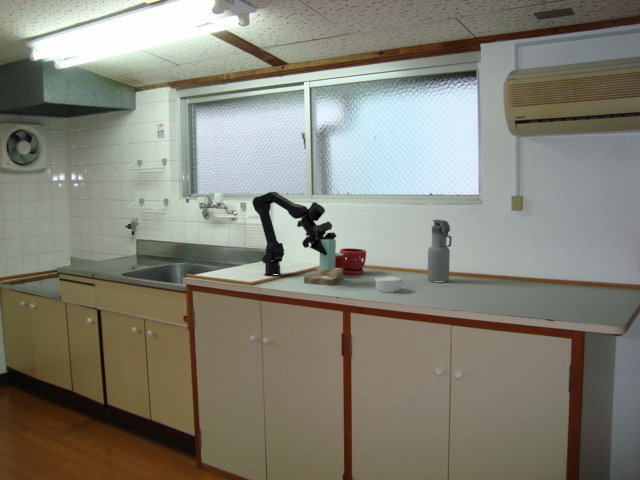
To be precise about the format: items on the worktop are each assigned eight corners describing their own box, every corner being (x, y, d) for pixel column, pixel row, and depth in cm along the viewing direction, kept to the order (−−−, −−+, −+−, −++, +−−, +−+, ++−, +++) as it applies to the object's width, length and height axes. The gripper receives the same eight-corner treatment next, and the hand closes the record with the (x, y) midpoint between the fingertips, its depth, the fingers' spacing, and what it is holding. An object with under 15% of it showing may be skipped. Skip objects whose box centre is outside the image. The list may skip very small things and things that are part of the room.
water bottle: (454, 281, 244) (455, 220, 241) (436, 283, 240) (438, 221, 236) (439, 278, 253) (441, 219, 250) (423, 279, 249) (424, 219, 245)
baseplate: (304, 283, 241) (304, 277, 240) (316, 277, 254) (316, 272, 253) (333, 285, 235) (333, 279, 235) (344, 280, 248) (344, 274, 248)
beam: (315, 274, 250) (315, 267, 249) (317, 272, 253) (317, 266, 252) (339, 275, 245) (339, 269, 245) (341, 274, 248) (341, 268, 248)
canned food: (343, 275, 261) (344, 252, 260) (343, 278, 254) (343, 255, 252) (328, 274, 262) (328, 252, 261) (326, 277, 254) (326, 254, 253)
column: (319, 268, 239) (319, 239, 238) (326, 267, 243) (326, 238, 242) (328, 269, 236) (328, 240, 235) (335, 268, 240) (335, 239, 239)
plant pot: (348, 276, 257) (349, 252, 256) (334, 272, 269) (334, 248, 267) (371, 274, 264) (371, 250, 262) (356, 270, 275) (356, 247, 274)
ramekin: (386, 286, 233) (386, 274, 233) (406, 290, 226) (407, 278, 225) (369, 290, 226) (369, 278, 225) (390, 294, 218) (390, 281, 217)
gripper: (307, 217, 232) (327, 244, 227) (333, 214, 247) (352, 240, 241) (293, 233, 238) (313, 260, 233) (319, 230, 253) (338, 256, 247)
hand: (330, 254), depth 238 cm, fingers closed on column, 5 cm apart
